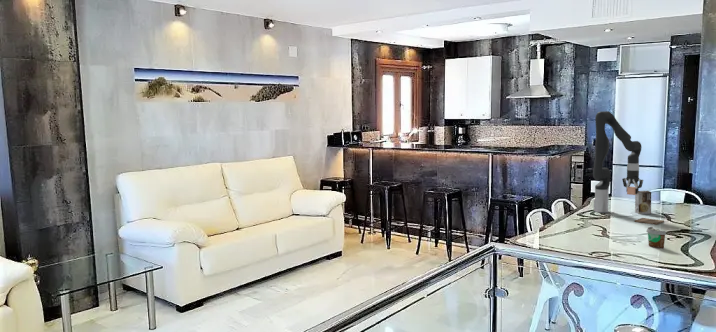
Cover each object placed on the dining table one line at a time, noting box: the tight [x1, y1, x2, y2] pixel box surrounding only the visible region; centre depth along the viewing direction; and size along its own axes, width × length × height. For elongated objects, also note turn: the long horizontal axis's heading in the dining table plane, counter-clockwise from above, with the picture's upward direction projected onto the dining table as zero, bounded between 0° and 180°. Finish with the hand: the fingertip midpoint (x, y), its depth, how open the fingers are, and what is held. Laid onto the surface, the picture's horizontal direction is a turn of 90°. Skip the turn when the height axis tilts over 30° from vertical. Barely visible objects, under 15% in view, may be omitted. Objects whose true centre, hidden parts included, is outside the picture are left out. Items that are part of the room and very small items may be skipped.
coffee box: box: [634, 190, 652, 215], centre depth 393 cm, size 9×6×16 cm
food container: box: [646, 226, 667, 249], centre depth 302 cm, size 12×6×10 cm, turn 5°
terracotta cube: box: [626, 186, 636, 196], centre depth 378 cm, size 5×5×5 cm
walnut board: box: [634, 217, 665, 226], centre depth 363 cm, size 14×12×1 cm
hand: (632, 193), depth 378 cm, fingers closed on terracotta cube, 5 cm apart
